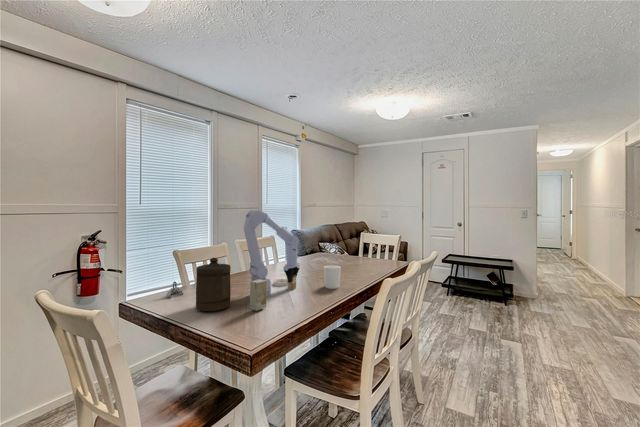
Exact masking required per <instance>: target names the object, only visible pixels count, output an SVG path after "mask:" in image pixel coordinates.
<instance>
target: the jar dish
mask: <svg viewBox="0 0 640 427" xmlns="http://www.w3.org/2000/svg"><path fill="white" fill-rule="evenodd" d="M272 282H273V285H274V286H275V287H288V280H287V278H277V279H275V280H273V281H272Z"/></svg>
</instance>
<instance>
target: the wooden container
mask: <svg viewBox="0 0 640 427" xmlns="http://www.w3.org/2000/svg"><path fill="white" fill-rule="evenodd" d="M218 261H219V259H218V258H216V257H211V258H210V259H209V262H210V263H209V264H202V265H199V266H196V285H195V308H196V309H197V310H198V311H203V312H215V311H221V310H224V309H226V308H228V307H230V306H231V265H230V264H227V263H219V262H218Z"/></svg>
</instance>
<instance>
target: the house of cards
mask: <svg viewBox="0 0 640 427" xmlns="http://www.w3.org/2000/svg"><path fill="white" fill-rule="evenodd" d="M165 295H166V296H165V298H167V299H175V298H177V297H181V296H183V295H184V292H183V291H182V290H181V289H180V288H179V286H178V284H177V282H176V281H173V282H172V287H171V288H170V289H169V291H167V293H166V294H165Z"/></svg>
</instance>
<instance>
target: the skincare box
mask: <svg viewBox="0 0 640 427" xmlns="http://www.w3.org/2000/svg"><path fill="white" fill-rule="evenodd" d="M249 287H250V289H249V290H250V291H249V292H250V294H249V295H250V297H249V309H250V310H252V311H259V310H262V309H265V308H267V297H266V280H261V279H260V280H255V281H250V285H249Z"/></svg>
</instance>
